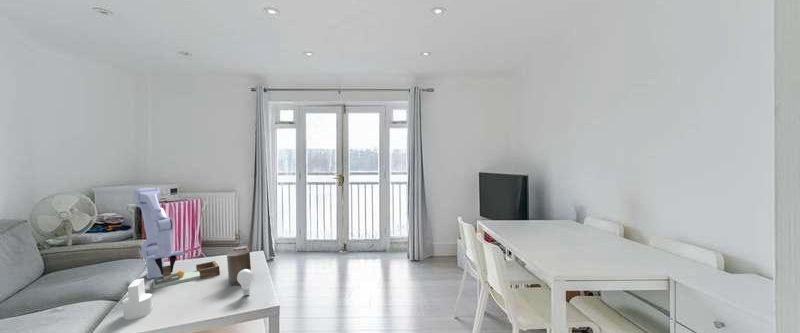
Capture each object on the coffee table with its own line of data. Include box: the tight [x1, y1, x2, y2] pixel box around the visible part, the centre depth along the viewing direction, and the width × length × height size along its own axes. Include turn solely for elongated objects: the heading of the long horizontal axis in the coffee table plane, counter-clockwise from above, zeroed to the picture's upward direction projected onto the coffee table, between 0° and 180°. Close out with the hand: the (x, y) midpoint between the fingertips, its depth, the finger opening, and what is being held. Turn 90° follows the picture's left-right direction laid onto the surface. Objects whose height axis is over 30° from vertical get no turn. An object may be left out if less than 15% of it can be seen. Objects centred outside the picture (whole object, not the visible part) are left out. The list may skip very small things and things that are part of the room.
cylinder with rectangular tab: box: [121, 278, 154, 320], centre depth 133 cm, size 9×9×12 cm
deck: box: [152, 270, 200, 289], centre depth 168 cm, size 10×19×1 cm, turn 128°
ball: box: [176, 270, 185, 277], centre depth 169 cm, size 3×3×3 cm
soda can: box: [233, 244, 250, 251], centre depth 174 cm, size 7×7×13 cm
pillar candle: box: [226, 249, 252, 286], centre depth 162 cm, size 10×10×15 cm
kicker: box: [162, 264, 172, 280], centre depth 165 cm, size 5×3×6 cm, turn 38°
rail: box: [153, 272, 179, 285], centre depth 165 cm, size 8×10×1 cm
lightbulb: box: [237, 269, 255, 297], centre depth 146 cm, size 6×6×11 cm
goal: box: [195, 260, 220, 279], centre depth 176 cm, size 12×8×4 cm
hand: (166, 273), depth 166 cm, fingers closed on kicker, 3 cm apart
